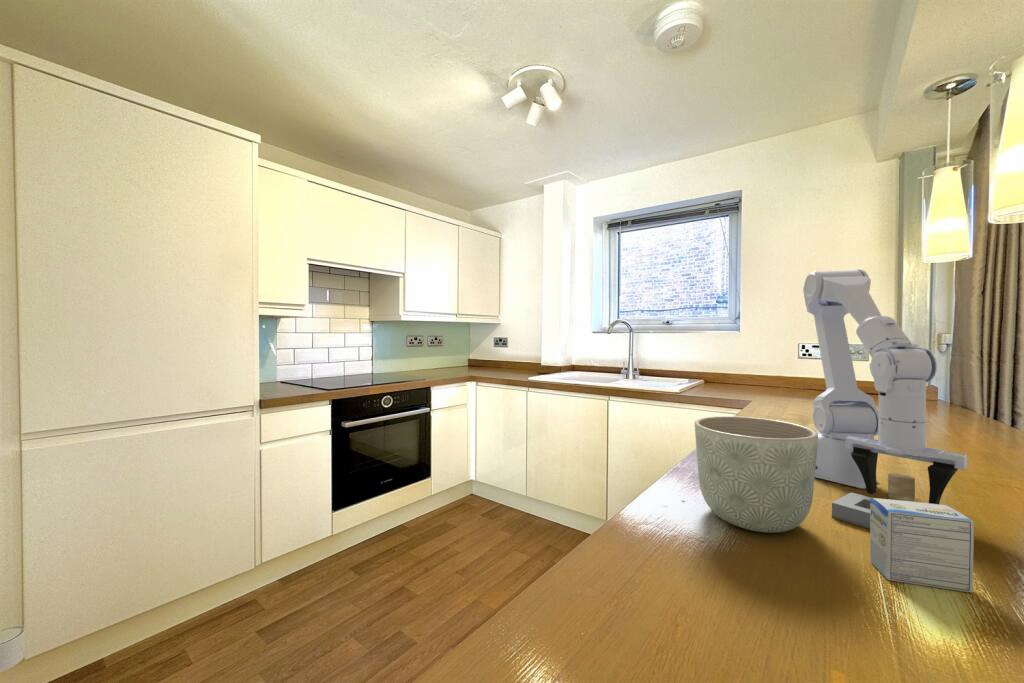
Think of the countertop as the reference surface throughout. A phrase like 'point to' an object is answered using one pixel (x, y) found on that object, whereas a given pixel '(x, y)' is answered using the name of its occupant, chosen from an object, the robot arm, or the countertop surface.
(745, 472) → the planter
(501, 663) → the countertop surface
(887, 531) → the medicine box
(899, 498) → the maple pin
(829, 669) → the countertop surface
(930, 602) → the countertop surface
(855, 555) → the countertop surface
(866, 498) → the hole block
